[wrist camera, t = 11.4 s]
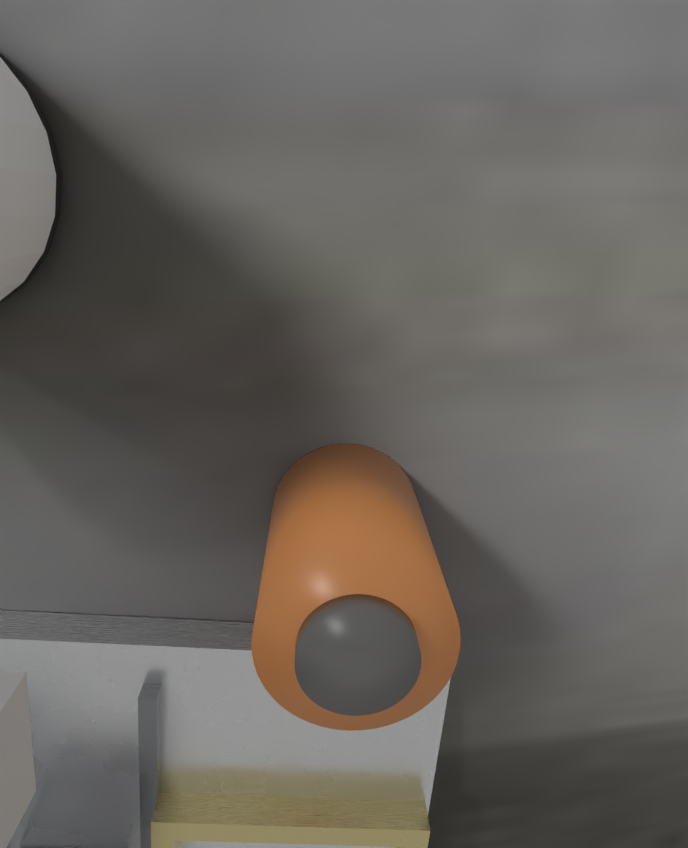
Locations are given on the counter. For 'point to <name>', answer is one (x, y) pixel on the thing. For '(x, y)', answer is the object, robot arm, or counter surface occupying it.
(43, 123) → the mug
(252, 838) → the panel
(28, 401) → the counter surface
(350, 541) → the cap
